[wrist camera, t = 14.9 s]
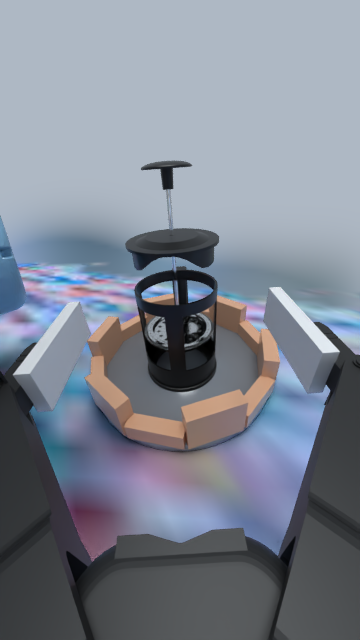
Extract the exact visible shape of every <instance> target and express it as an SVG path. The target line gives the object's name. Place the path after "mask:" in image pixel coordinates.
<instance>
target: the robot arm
mask: <svg viewBox="0 0 360 640" xmlns="http://www.w3.org/2000/svg"><path fill="white" fill-rule="evenodd" d="M25 301H26V291H25V288H24V285H23V282H22V278H21V275H20V273H19V269H18V266H17V264H16V261H15V258H14V255H13V252H12V249H11V246H10V243H9V240H8V237H7V234H6V231H5V228H4V225H3V222H2V219H1V216H0V315H3V314H6V313H9V312H11V311H14V310H17V309H19V308H20V307H22V306H23V305H24V303H25ZM263 321H264V323H265V325H266V326H267V328H268V329H269V331H270V333H271V334H272V336H273V338H274V339H275V341H276V343H277V344H278V346H279V348H280V349H281V351H282V352H283V354H284V356H285V357H286V359H287V361H288V362H289V364H290V366H291V367H292V369H293V371H294V372H295V374H296V375H297V377H298V379H299V380H300V382H301V384H302V385H303V387H304V389H305V390H306V392H307V393H320V392H323V390H324V388H325V385H327V386H328V388H329V389H330V390H331V391H330V393H329V395H328V397H327V400H326V402H325V404H324V405H325V409H324V412H323V415H322V419H321V422H320V425H319V428H318V432H317V435H316V438H315V442H314V445H313V448H312V451H311V455H310V458H309V461H308V465H307V468H306V471H305V475H304V478H303V481H302V484H301V488H300V491H299V494H298V498H297V501H296V504H295V507H294V511H293V514H292V517H291V521H290V524H289V527H288V530H287V532H286V535H285V537H284V540H283V542H282V545H281V548H280V551H279V555H278V556H277V555H276V554H275V553H274V552H273V551H271V550H270V549H269V548H268V547H266V546H265V545H263V544H261V543H260V542H258V541H256V540H254V539H252V538H249V537H246V536H245V535H244V530H243V528H234V529H219V530H211V531H209V532H206V533H204V534H202V535H200V536H197V537H195V538H193V539H190V540H188V541H186V542H183V543H176V542H173V541H170V540H166V539H163V538H160V537H156V536H153V535H150V534H141V535H125V536H118V537H117V544H116V545H115V546H113V547H111V548H110V549H108V550H106V551H105V552H103V553H102V554H101V555H100V556H98V557H97V558H96V559H95V560H94V561H93V562H92V561H91V558H90V556H89V554H88V552H87V550H86V549H85V547H84V545H83V544H82V542H81V540H80V537H79V535H78V532H77V530H76V527H75V525H74V522H73V520H72V517H71V514H70V512H69V509H68V507H67V504H66V502H65V499H64V496H63V494H62V491H61V489H60V486H59V484H58V481H57V478H56V476H55V473H54V471H53V468H52V466H51V463H50V460H49V458H48V455H47V453H46V450H45V448H44V445H43V442H42V440H41V437H40V435H39V432H38V430H37V427H36V424H35V422H34V419H33V417H32V415H31V413H30V412H29V411H30V410H31V408H32V406H33V405H34V407H35V408H36V410H37V411H38V412H45V411H53V409H54V407H55V405H56V403H57V401H58V399H59V397H60V395H61V393H62V391H63V389H64V387H65V385H66V383H67V381H68V379H69V377H70V375H71V373H72V371H73V369H74V367H75V365H76V362H77V360H78V358H79V356H80V354H81V352H82V350H83V348H84V346H85V344H86V342H87V340H88V338H89V336H90V334H91V333H90V330H89V327H88V324H87V322H86V319H85V316H84V313H83V310H82V307H81V305H80V302H69V303H68V304H67V305H66V306H65V308H64V309H63V310H62V312H61V313H60V314H59V315H58V317H57V318H56V319H55V321H54V322H53V323H52V325H51V326H50V327H49V328H48V330H47V331H46V332H45V334H44V335H43V336H42V338H41V339H40V340H39V341H38V343H33V344H31V345H30V346H29V347H27V348H26V349H25V350H24V351H23V352H22V354H21V355H20V357H18V359H17V360H16V362H14V364H13V365H12V366H11V367H10V368H9V370H8V371H7V372H6V373H5V375H4V376H3V374H2V373H1V372H0V640H360V355H355V354H354V353H353V352H352V351H351V350H350V349H349V348H348V347H347V346H346V345H345V344H344V343H343V342H342V341H341V340H340V339H338V337H337V336H336V335H335V334H334V333H333V332H332V331H331V330H330V329H329V328H328V327H327V326H325V325H324V324H322V323H320V322H312V321H311V320H310V319H309V318H308V317H307V316H306V314H305V313H304V312H303V311H302V310H301V309H300V308H299V307H298V306H297V305H296V304H295V303H294V302H293V300H292V299H291V298H290V297H289V296H288V295H287V294H286V293H285V292H284V291H283V290H282V289H281V288H280V287H277V288H276V287H275V288H269V291H268V297H267V303H266V309H265V314H264V320H263Z"/></svg>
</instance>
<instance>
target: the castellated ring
mask: <svg viewBox="0 0 360 640" xmlns="http://www.w3.org/2000/svg"><path fill="white" fill-rule="evenodd" d="M143 300H145V301H148V302H151V303H154V304H161V305H174V294H168V295H163V296H158V297H152V298H147V299H143ZM246 308H247V305H244V304H241V303H238V302H235V301H232V300H229V299H226V298H223V297H220V296H217V315H216V346H215V358H216V362H217V367H216V372H215V374H214V376H213V378H212V379H211V380H210V381H209V382H208V383H207V384H206V385H204V386H203V387H201V388H198V389H196V390H193V391H189V392H172V391H169V390H165V389H163V388H161V387H159V386H158V385H157V384H155V383H154V382H153V380H152V379H151V377H150V375H149V372H148V358H147V353H146V348H145V342H144V337H143V332H142V327H141V322H140V317H139V315H138V316H136V317H134V318H132V319H130V320H129V321H127V322H125V323H123V324H121V325H120V322H119V318H118V317H108V318H107V319H106V320H105V321H104V322H103V323H102V325H101V326H100V327H99V328H98V329H97V330H96V331H95V332H94V334H93V335H92V336H91V337H90V338H89V339H88V340H87V342H88V345H89V348H90V350H91V353H92V356H93V357H91V374H89V375H88V376H86V377H85V381H86V383H87V385H88V387H89V390H90V392H91V394H92V397H93V399H94V401H95V404H96V405H97V406H98V407H99V408H100V409H101V410H102V412H103V413H104V415H105V416H106V418H107V419H108V420H109V422H110V423H111V424H112V425H113V426H114V427H115V428H116V429H117V430H118V431H119V432H120V433H122V434H123V435H124V436H126V437H128V438H129V439H131V440H133V441H135V442H137V443H139V444H142V445H144V446H148V447H151V448H155V449H160V450H167V451H192V450H199V449H204V448H208V447H212V446H215V445H218V444H220V443H223V442H225V441H227V440H230V439H231V438H233V437H235V436H236V435H238V434H239V433H241V432H242V431H244V430H245V429H246V428H247V427H248V426H249V425H251V424H252V423H253V421H254V420H255V419H256V418H257V417H258V415H259V414H260V412H261V411H262V409H263V407H264V405H265V403H266V400H267V399H268V398H269V396H270V395H271V393H272V392H273V388H274V384H275V380H276V376H277V372H278V368H279V364H280V359H279V354H278V348H277V343H276V341H275V339H274V338H273V336H272V334H271V333H270V331H269V329H261V332H259V331H258V330H256V329H255V328H254V327H253V326H252V325H251V324H250V323H249V322H248V321H247V320H246V321H245V317H246ZM201 313H203V314H205V315H207V316H208V317H209V318H210V319H211V320H212V322H213V321H214V304H213V305H212V306H211V307H210V308H208V309H207V310H205V311H203V312H201ZM153 317H155V316H154V315H150V314H148V313H146V312H145V318H146V324H147V323H148V322H149V321H150V320H151V319H152V318H153ZM211 337H212V338H213V333H212V336H211ZM185 361H186V370H189V369H193V368H196V367H198V366H200V365H202V364H204V363H205V362H206V361H207V359H206V357H205V356H204V354H203V353H202V352H200V351H199V350H197V349H195V350H192V351H188V352H185ZM157 365H158V366H159V367H162V368H164V369H168V370H171V368H170V360H169V352H165V353H163V354H162V355H161V356H160V358H159V359H158V362H157Z"/></svg>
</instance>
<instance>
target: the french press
mask: <svg viewBox="0 0 360 640" xmlns="http://www.w3.org/2000/svg"><path fill="white" fill-rule="evenodd" d="M190 166H192V165H191V164H190V163H188V162H184V161H162V162H155V163H150V164H147V165H145V166H143V167H142V168H141V170H151V169H161V178H162V185H163V190H166V194H167V206H168V218H169V229H166V230H158V231H153V232H148V233H144V234H140V235H138V236H135V237H133V238H131V239H129V240H128V241H127V242H126V249H127V250H128V251H129V252H130V253H132V256H133V262H134V267H135V268H136V269H137V270H142V269H144V268H145V267H146V266H147V265H148V264H150V263H151V262H152V261H154V260H156V259H158V258H162V257H172V266H173V269H172V270H170V271H163V272H159V273H156V274H153V275H150V276H148V277H146V278H144V279H142V280H141V281H140V282H139V283H138V284H137V285H136V286H135V290H134V291H135V296H136V302H137V306H138V311H139V317H140V322H141V327H142V332H143V337H144V342H145V348H146V353H147V358H148V372H149V375H150V377H151V379H152V380H153V382H154V383H155V384H157V385H158V386H159V387H161V388H163V389H165V390H169V391H172V392H189V391H193V390H196V389H198V388H201V387H203V386H204V385H206V384H207V383H208V382H209V381H210V380H211V379H212V378H213V376H214V374H215V372H216V367H217V362H216V358H215V346H216V315H217V281H216V280H215V279H214V278H213V277H212V276H210V275H208V274H206V273H203V272H199V271H194V270H186V267H184V266H183V267H176V260H175V257H179V258H182V259H185V260H188V261H190V262H191V263H193V264H195V265H197V266H199V267H201V268H205V267H209V266H210V265H211V264H212V263H213V261H214V246H216V245H217V244H218V243H219V236H218V235H217V234H216V233H213V232H211V231H207V230H201V229H186V228H185V229H184V228H182V229H173V219H172V206H171V192H170V189H173V168H178V167H190ZM187 280H192V281H197V282H201V283H204V284H206V285H208V286H209V287H211V288H212V289H213V290H214V291H213V292H212V293H211V294H210V295H208V296H207V297H205V298H203V299H201V300H198V301H195V302H192V303H188V290H187ZM166 281H172V282H173V294H174V305H161V304H154V303H151V302H148V301H145V300H143V299H142V295H141V293H142V292H143V291H144V290H146V289H147V288H149V287H151V286H153V285H155V284H158V283H161V282H166ZM213 304H214V321H213V322H212V320H211V319H210V318H209V317H208V316H207V315H205V314H203V313H201V312H203V311H205V310H207V309H208V308H210V307H211V306H212V305H213ZM145 312H146V313H148V314H150V315H154V316H155V317H153V318H152V319H151V320H150V321H149V322H148V323H147V324H146V318H145ZM212 333H213V338H212V337H211V336H212ZM195 349H197V350H199V351H200V352H202V353H203V354H204V356H205V357H206V359H207V361H206V362H205V363H204V364H202V365H200V366H198V367H196V368H193V369H189V370H186V361H185V352H188V351H192V350H195ZM165 352H169V360H170V368H171V370H168V369H164V368H162V367H159V366H158V365H157V362H158V359H159V358H160V356H161V355H162V354H163V353H165Z"/></svg>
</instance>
